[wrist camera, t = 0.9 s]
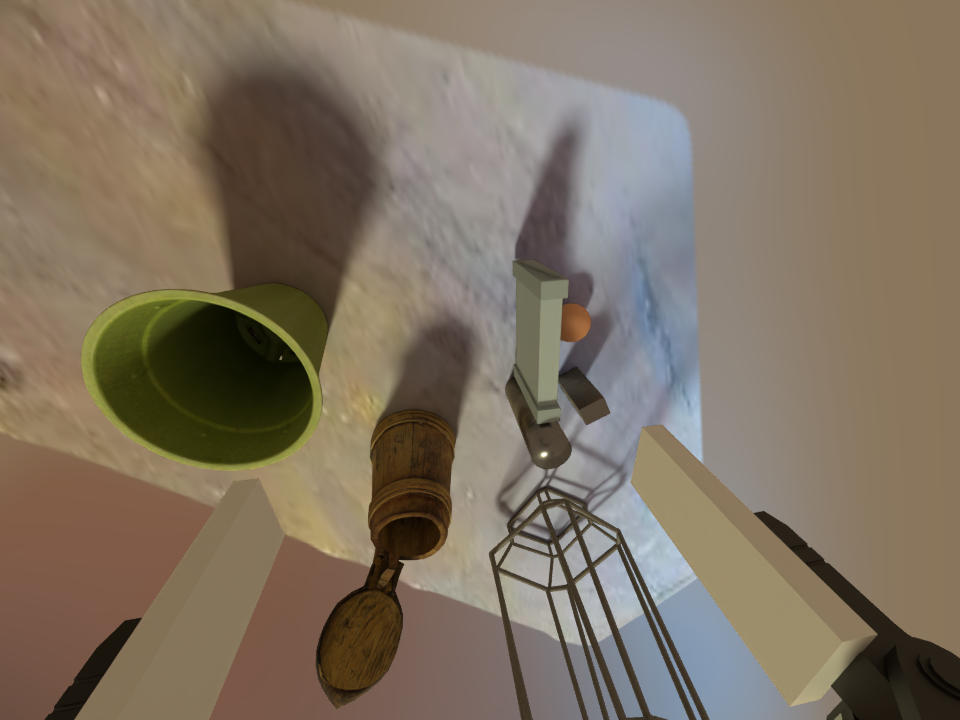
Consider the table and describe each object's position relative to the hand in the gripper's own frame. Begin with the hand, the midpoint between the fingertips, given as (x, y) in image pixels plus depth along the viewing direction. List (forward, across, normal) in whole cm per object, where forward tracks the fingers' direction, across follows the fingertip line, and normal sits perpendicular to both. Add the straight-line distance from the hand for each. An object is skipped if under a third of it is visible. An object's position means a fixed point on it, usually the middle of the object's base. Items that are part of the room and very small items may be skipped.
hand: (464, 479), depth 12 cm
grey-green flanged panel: (+20, +7, -2) cm, 21 cm away
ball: (+21, +12, -2) cm, 24 cm away
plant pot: (+21, -14, 0) cm, 25 cm away
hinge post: (+21, +7, -9) cm, 24 cm away
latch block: (+21, +13, -9) cm, 26 cm away
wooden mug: (+21, -6, -17) cm, 27 cm away
